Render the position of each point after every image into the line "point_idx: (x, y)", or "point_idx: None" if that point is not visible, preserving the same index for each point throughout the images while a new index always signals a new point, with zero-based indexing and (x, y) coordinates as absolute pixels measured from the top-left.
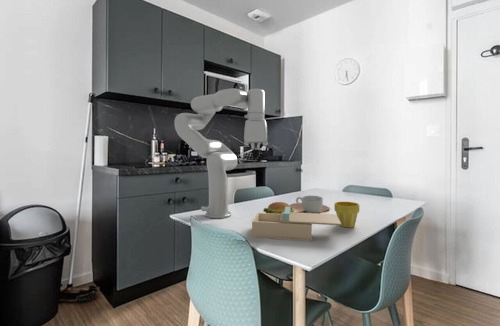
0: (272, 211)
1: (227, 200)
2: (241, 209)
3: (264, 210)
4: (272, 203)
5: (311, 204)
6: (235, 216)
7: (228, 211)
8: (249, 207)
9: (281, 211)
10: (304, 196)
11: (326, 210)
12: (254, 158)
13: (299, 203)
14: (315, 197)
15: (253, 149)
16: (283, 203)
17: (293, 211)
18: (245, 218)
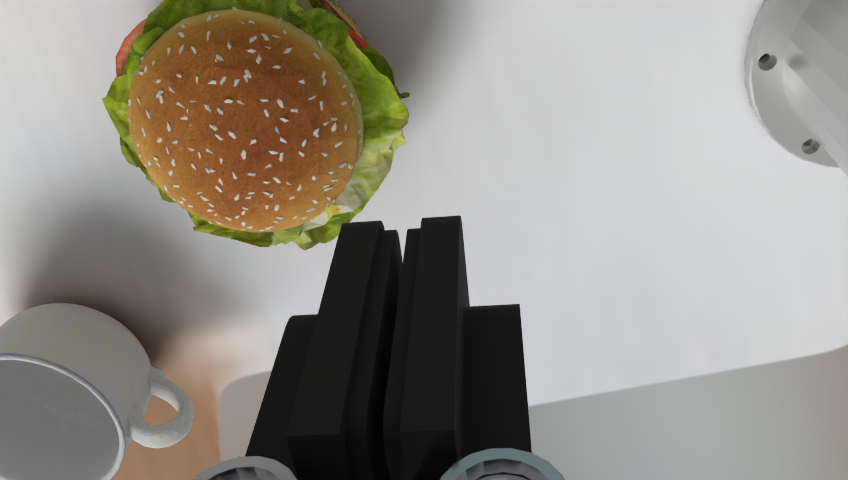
0: (283, 2)
1: (839, 111)
2: (675, 299)
3: (392, 76)
4: (306, 136)
5: (31, 333)
6: (692, 57)
7: (786, 141)
8: (615, 371)
9: (192, 17)
10: (115, 461)
11: None
12: (432, 220)
13: (169, 397)
14: (37, 475)
15: (469, 460)
16: (186, 138)
17: (116, 115)
18: (580, 13)
